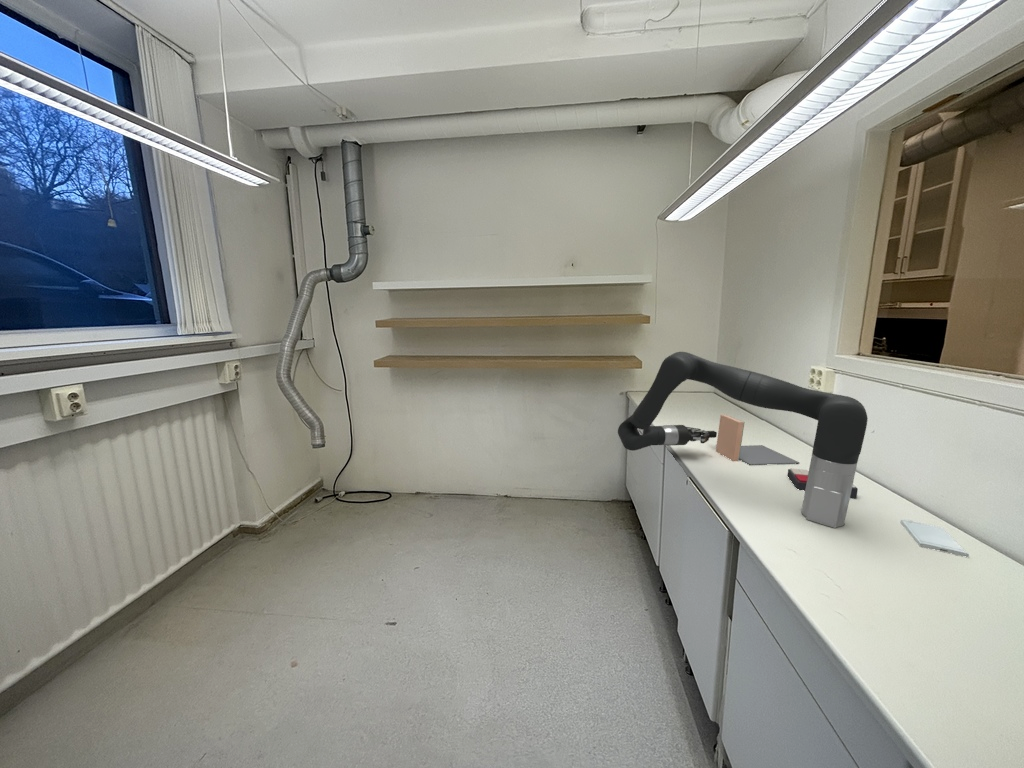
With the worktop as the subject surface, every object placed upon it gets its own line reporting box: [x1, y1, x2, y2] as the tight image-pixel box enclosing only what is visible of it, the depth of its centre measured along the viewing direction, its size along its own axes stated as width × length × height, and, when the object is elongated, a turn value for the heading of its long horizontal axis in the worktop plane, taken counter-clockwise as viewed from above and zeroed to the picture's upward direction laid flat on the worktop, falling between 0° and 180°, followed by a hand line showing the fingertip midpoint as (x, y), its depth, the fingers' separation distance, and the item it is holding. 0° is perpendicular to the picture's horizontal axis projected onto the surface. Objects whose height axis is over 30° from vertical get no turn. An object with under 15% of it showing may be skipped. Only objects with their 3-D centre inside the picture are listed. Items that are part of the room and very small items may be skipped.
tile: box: [715, 414, 745, 462], centre depth 146 cm, size 2×10×15 cm, turn 8°
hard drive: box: [900, 519, 970, 558], centre depth 96 cm, size 2×8×12 cm
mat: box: [739, 444, 800, 466], centre depth 149 cm, size 20×18×1 cm
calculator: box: [787, 467, 858, 500], centre depth 123 cm, size 11×4×15 cm
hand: (715, 434), depth 145 cm, fingers closed
